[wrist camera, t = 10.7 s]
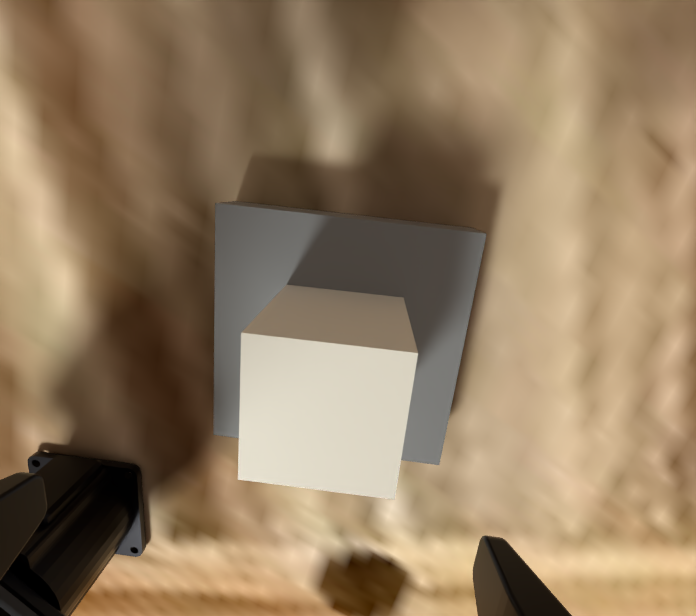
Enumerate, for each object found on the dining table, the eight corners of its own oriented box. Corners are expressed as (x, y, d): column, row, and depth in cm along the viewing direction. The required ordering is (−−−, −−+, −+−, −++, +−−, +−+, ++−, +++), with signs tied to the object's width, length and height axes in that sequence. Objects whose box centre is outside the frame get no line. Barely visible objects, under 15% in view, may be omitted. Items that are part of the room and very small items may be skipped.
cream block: (388, 402, 18) (394, 499, 12) (280, 389, 18) (238, 479, 13) (403, 297, 17) (418, 352, 11) (286, 284, 17) (241, 332, 11)
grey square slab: (430, 428, 22) (439, 465, 19) (234, 403, 22) (213, 434, 19) (469, 226, 19) (486, 233, 16) (239, 200, 19) (215, 202, 16)
